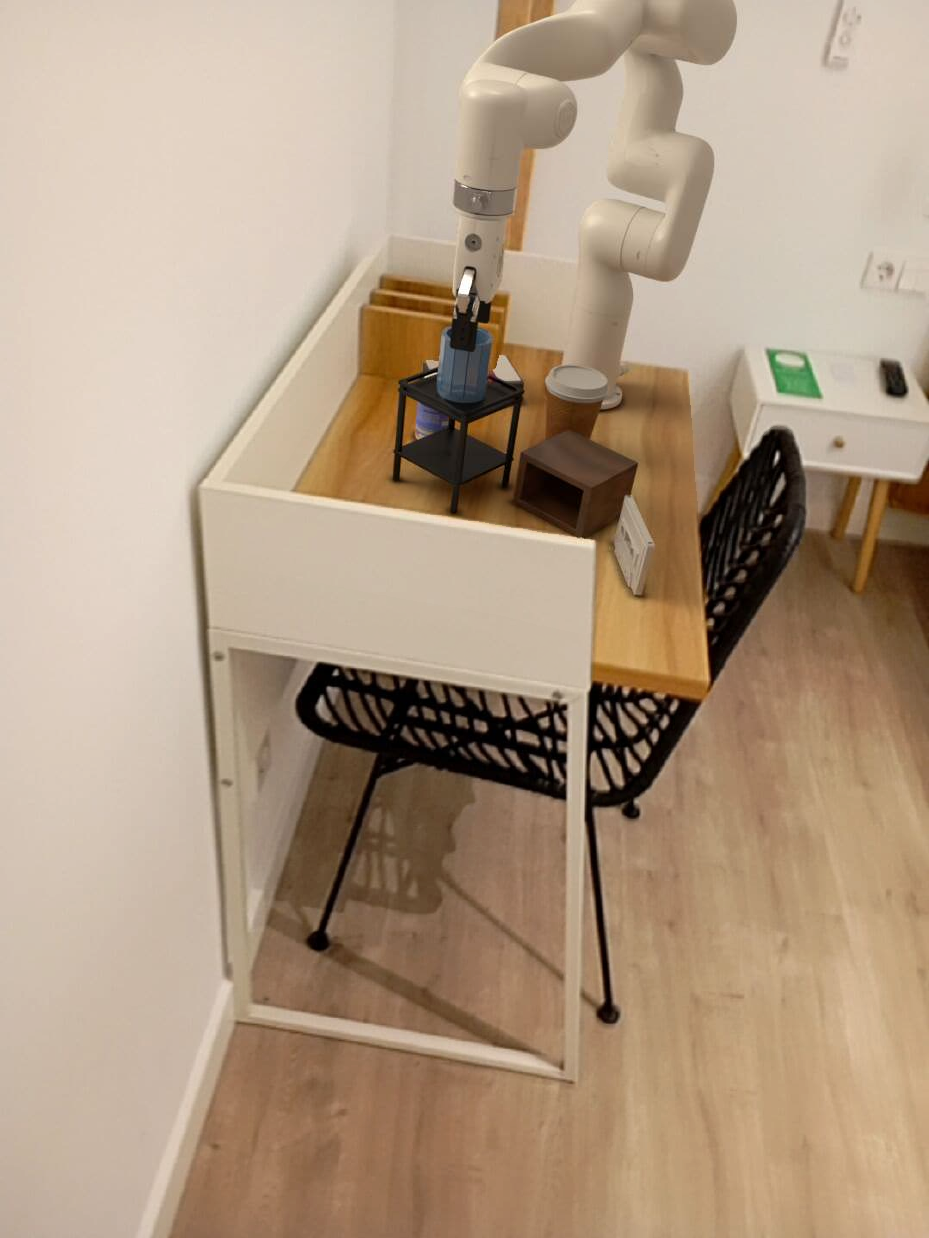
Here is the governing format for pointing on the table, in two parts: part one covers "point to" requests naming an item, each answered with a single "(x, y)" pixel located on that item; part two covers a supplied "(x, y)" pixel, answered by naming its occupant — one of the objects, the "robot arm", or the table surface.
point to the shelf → (574, 482)
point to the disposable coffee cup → (574, 399)
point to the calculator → (501, 371)
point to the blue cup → (464, 369)
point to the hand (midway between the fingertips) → (469, 335)
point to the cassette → (633, 546)
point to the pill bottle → (429, 420)
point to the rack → (456, 434)
